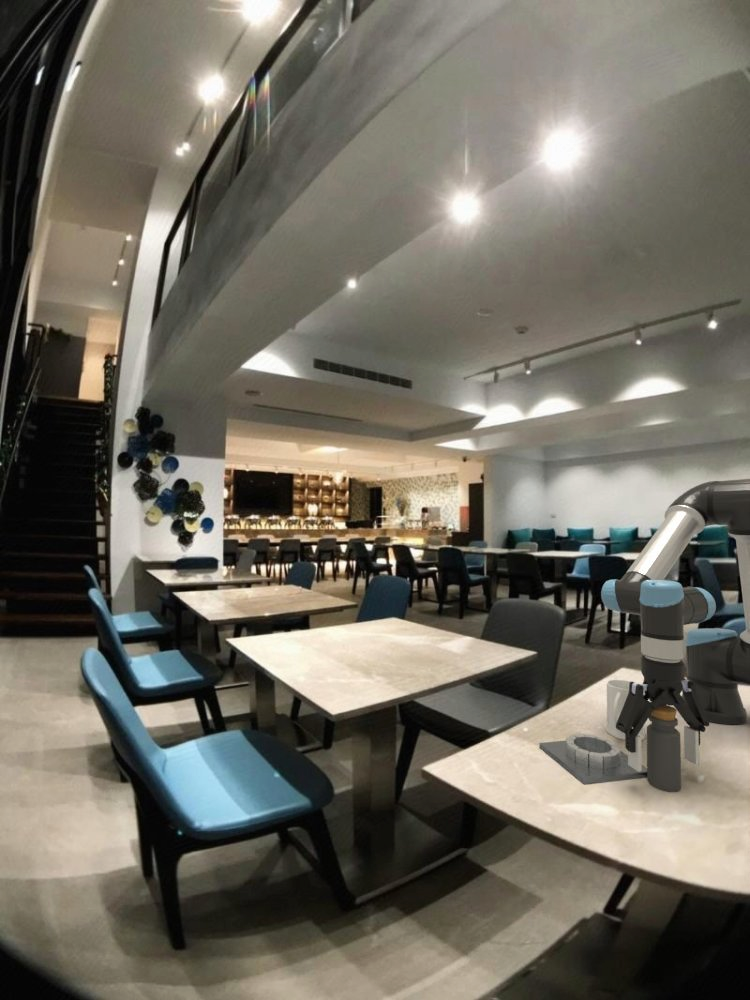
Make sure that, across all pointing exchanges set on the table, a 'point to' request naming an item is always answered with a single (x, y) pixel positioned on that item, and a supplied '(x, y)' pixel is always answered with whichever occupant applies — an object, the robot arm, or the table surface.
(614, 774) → the collar plate
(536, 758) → the table surface
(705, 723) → the robot arm
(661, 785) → the bottle
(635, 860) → the table surface
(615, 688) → the mug
